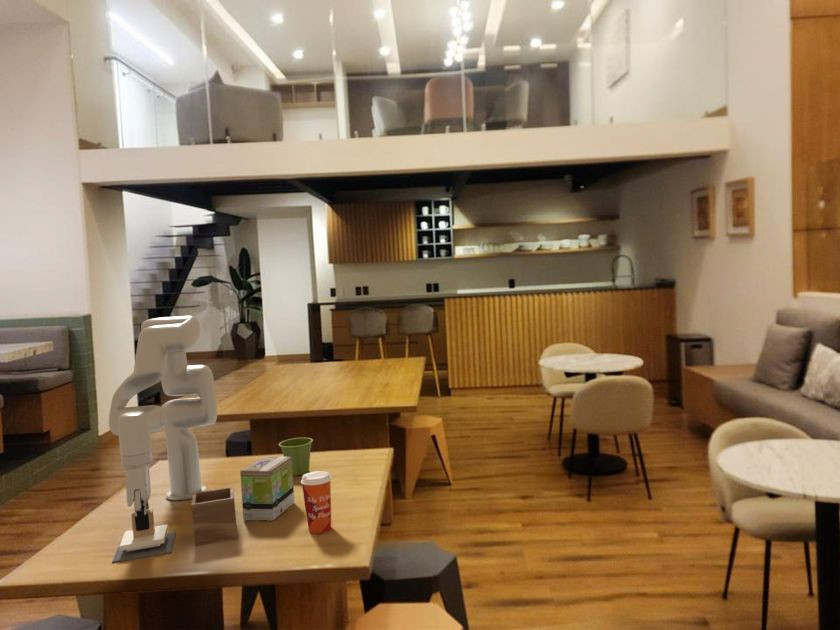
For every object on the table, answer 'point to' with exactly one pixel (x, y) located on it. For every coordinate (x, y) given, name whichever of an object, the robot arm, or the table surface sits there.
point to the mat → (146, 550)
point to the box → (214, 516)
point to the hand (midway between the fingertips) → (143, 527)
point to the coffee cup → (317, 500)
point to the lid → (144, 535)
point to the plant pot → (298, 454)
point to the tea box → (267, 488)
